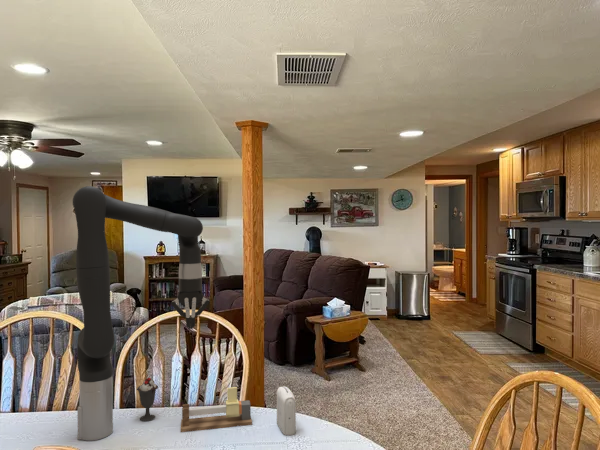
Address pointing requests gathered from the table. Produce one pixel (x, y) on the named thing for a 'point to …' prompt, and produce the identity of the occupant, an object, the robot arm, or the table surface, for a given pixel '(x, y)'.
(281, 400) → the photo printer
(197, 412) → the sliding door bolt
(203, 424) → the wooden bracket
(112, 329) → the robot arm
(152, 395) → the sundae
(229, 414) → the marker sleeve
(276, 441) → the table surface
